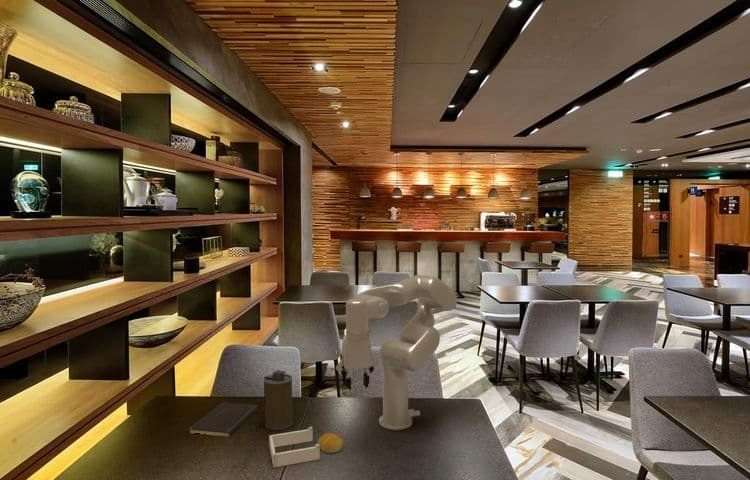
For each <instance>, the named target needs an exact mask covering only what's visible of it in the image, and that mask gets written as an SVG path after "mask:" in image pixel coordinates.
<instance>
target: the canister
mask: <svg viewBox="0 0 750 480" xmlns="http://www.w3.org/2000/svg"><path fill="white" fill-rule="evenodd" d="M263 391H264V392H263V396H264V397H263V399H264V401H263V402H264V406H265V407H264V408H265V409H264V411H265V413H264V414H265V416H264V417H265V420H264V421H265V423H264V426H265V428H267V429H268V430H272V431H279V430H284V429H288V428H290V427H291V426H292V425H293V423H294V420H293V419H294V418H293V376H292V375H290V374H287V373H286V371H283V370H280V369H277V370H275V371H274V372H272V374H271V375H269V374H268V375H265V376H263Z"/></svg>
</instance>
